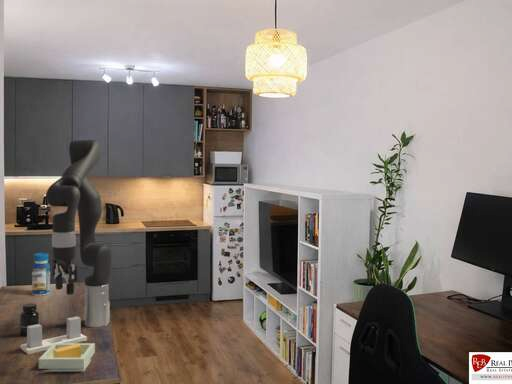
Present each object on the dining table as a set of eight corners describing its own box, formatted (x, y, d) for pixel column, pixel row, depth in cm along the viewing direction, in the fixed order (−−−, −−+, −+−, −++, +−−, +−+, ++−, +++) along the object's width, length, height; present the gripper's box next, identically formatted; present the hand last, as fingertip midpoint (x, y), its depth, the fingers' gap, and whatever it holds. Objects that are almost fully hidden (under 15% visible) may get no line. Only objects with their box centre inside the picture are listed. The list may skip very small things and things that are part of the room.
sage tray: (94, 354, 174) (94, 343, 174) (83, 371, 160) (83, 359, 160) (53, 354, 173) (53, 343, 173) (38, 371, 159) (38, 359, 159)
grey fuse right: (77, 337, 188) (77, 316, 187) (80, 339, 185) (80, 318, 185) (66, 339, 185) (66, 318, 184) (70, 342, 183) (70, 320, 182)
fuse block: (78, 337, 190) (78, 332, 190) (86, 342, 185) (87, 336, 185) (20, 351, 175) (20, 344, 175) (27, 357, 170) (27, 350, 170)
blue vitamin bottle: (53, 293, 252) (53, 253, 251) (38, 297, 245) (38, 256, 243) (43, 290, 256) (43, 252, 255) (28, 294, 249) (28, 254, 248)
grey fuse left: (38, 346, 178) (38, 324, 177) (42, 348, 176) (42, 326, 175) (27, 348, 175) (27, 326, 175) (30, 351, 173) (30, 328, 172)
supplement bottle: (17, 339, 186) (17, 307, 186) (21, 333, 193) (21, 302, 192) (37, 338, 188) (37, 306, 188) (40, 332, 195) (40, 302, 194)
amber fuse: (53, 361, 165) (76, 355, 170) (57, 364, 163) (80, 357, 168) (53, 349, 164) (76, 343, 170) (57, 352, 162) (80, 346, 168)
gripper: (84, 246, 167) (84, 294, 169) (65, 240, 177) (66, 285, 179) (62, 248, 162) (63, 298, 163) (44, 242, 172) (44, 289, 173)
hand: (64, 291), depth 171 cm, fingers open, 8 cm apart
